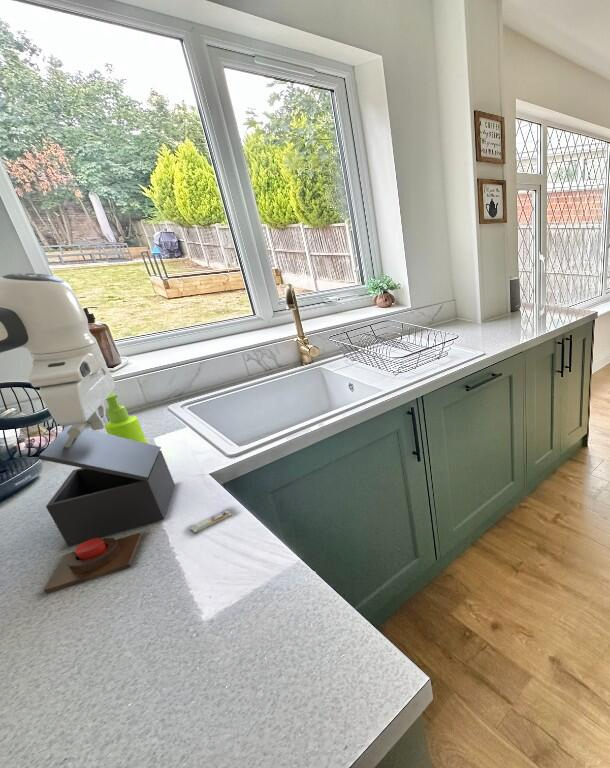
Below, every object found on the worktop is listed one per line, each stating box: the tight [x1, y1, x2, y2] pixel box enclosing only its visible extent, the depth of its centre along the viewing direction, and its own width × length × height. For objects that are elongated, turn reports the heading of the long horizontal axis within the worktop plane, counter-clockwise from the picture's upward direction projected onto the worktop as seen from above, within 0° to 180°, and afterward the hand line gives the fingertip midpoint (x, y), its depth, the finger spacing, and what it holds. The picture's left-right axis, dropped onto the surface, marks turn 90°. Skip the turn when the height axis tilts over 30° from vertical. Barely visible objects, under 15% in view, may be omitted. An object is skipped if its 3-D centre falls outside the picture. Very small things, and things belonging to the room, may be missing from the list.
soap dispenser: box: [104, 391, 149, 444], centre depth 100 cm, size 6×7×20 cm
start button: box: [74, 537, 106, 560], centre depth 73 cm, size 4×4×2 cm
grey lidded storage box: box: [45, 450, 176, 548], centre depth 85 cm, size 15×14×10 cm
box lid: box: [37, 421, 162, 481], centre depth 82 cm, size 15×14×5 cm
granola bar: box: [189, 510, 232, 533], centre depth 84 cm, size 7×2×1 cm, turn 142°
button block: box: [43, 532, 143, 595], centre depth 74 cm, size 11×9×3 cm
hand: (100, 426), depth 83 cm, fingers closed
